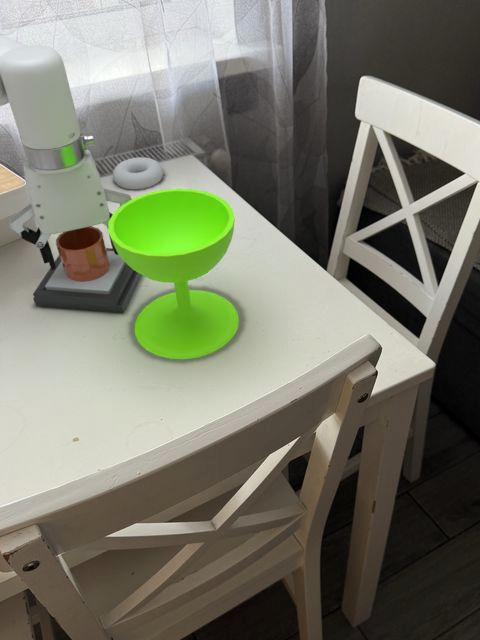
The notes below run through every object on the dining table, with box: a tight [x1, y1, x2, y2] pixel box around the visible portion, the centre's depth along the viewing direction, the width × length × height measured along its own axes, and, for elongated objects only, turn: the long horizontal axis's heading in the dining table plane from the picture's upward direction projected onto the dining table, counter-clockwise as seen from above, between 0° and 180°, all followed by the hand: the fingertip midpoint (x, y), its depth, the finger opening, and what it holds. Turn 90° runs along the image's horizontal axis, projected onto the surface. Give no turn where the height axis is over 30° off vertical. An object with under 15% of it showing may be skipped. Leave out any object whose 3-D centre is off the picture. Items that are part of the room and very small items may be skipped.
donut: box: [112, 156, 164, 191], centre depth 119 cm, size 10×4×10 cm
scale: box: [32, 247, 143, 314], centre depth 94 cm, size 14×13×4 cm
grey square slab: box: [45, 251, 126, 295], centre depth 93 cm, size 10×10×2 cm
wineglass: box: [107, 188, 240, 360], centre depth 82 cm, size 16×16×18 cm
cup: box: [55, 226, 110, 282], centre depth 90 cm, size 7×7×6 cm
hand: (84, 257), depth 91 cm, fingers open, 9 cm apart
